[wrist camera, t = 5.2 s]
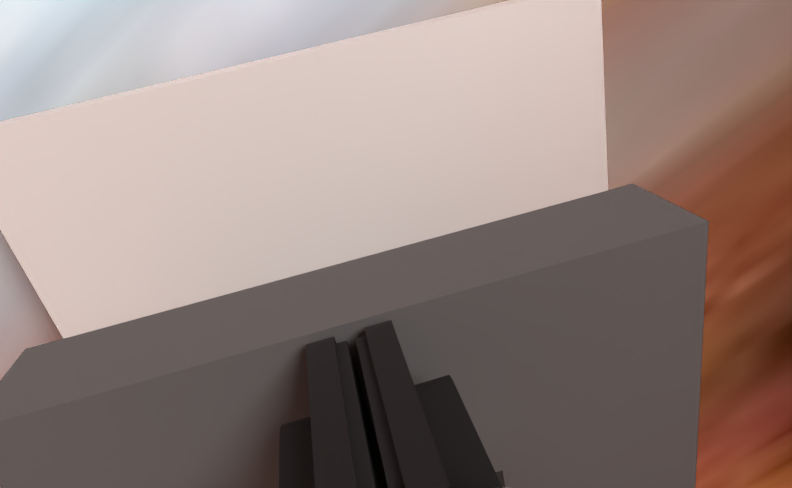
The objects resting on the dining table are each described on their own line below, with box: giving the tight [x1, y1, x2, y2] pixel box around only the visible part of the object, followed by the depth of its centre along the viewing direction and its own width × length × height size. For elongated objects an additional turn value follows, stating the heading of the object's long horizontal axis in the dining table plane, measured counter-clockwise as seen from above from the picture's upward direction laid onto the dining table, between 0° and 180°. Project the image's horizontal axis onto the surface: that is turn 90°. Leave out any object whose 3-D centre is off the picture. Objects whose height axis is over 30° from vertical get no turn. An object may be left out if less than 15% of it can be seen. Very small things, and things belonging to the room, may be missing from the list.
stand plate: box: [0, 0, 608, 339], centre depth 22 cm, size 22×20×2 cm
